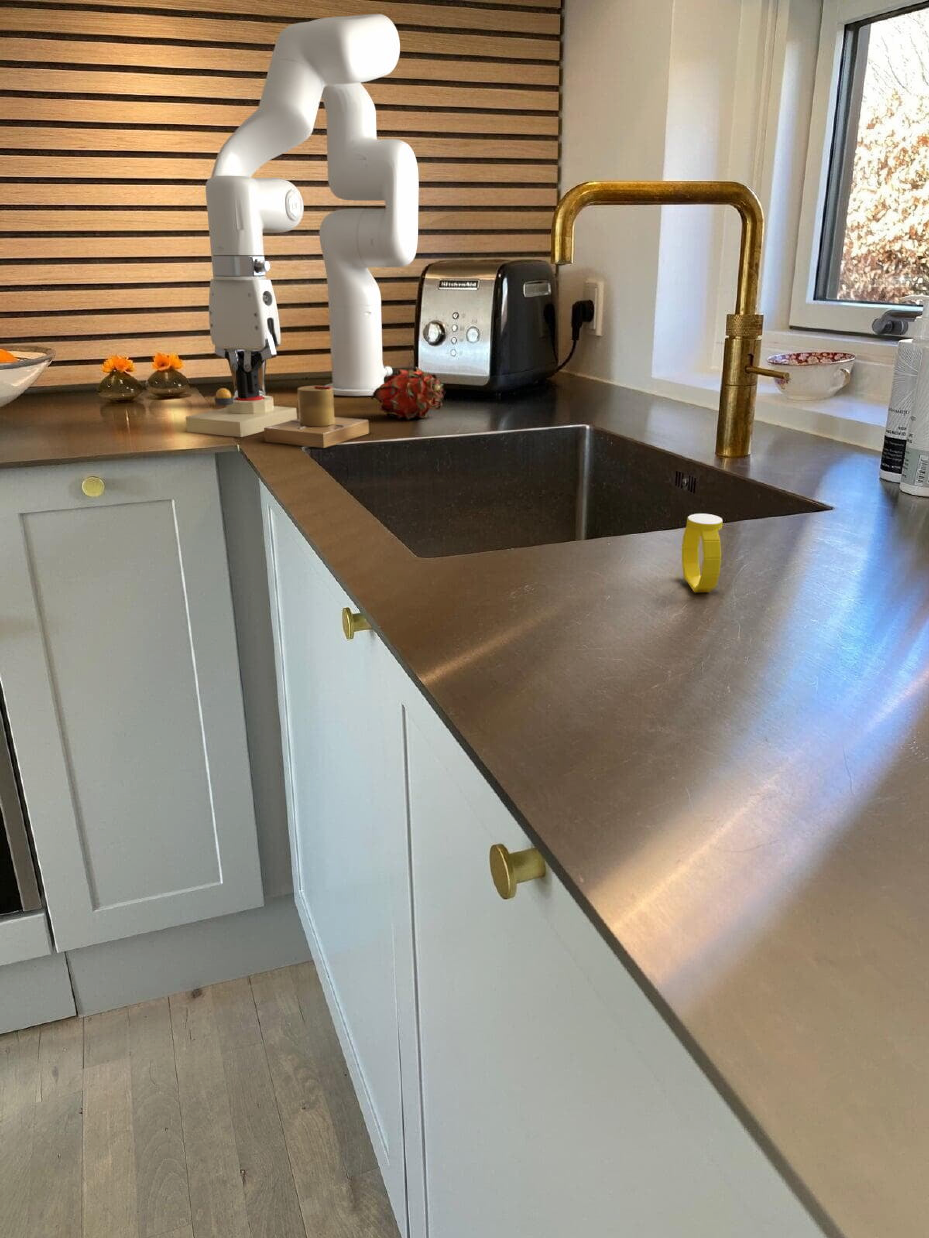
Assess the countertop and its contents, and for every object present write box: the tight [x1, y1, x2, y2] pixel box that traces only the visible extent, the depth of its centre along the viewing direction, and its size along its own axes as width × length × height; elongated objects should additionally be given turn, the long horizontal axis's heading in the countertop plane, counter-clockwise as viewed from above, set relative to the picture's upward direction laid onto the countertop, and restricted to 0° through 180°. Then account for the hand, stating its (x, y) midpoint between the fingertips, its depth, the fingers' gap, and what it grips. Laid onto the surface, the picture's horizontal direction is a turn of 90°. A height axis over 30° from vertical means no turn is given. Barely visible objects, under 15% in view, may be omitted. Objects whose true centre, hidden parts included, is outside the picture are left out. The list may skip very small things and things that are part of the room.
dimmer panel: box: [263, 416, 370, 449], centre depth 136 cm, size 12×10×2 cm
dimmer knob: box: [297, 385, 336, 426], centre depth 135 cm, size 5×5×5 cm
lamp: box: [214, 387, 234, 406], centre depth 139 cm, size 3×3×2 cm
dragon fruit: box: [370, 366, 447, 421], centre depth 150 cm, size 8×8×12 cm
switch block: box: [185, 395, 298, 438], centre depth 143 cm, size 14×10×4 cm
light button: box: [236, 395, 263, 401], centre depth 144 cm, size 4×4×2 cm
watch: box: [681, 513, 723, 594], centre depth 77 cm, size 6×3×6 cm, turn 4°
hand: (248, 396), depth 144 cm, fingers closed
